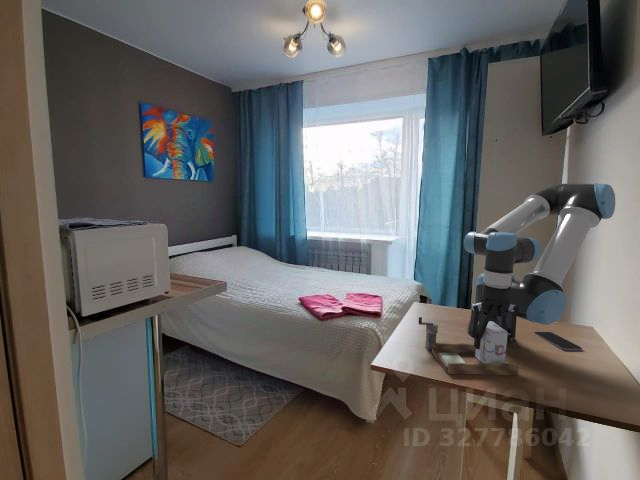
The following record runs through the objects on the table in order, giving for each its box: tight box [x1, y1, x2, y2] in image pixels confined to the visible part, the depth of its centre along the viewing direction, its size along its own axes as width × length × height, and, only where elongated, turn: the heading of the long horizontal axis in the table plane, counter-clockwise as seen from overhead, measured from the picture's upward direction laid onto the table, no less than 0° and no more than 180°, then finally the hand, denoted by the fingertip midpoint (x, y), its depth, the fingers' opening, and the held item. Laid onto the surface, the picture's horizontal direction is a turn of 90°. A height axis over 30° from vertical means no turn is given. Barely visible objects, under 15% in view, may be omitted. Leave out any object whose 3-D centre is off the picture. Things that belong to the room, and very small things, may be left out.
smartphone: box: [533, 331, 583, 352], centre depth 121 cm, size 7×1×15 cm
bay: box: [417, 316, 520, 376], centre depth 104 cm, size 24×17×11 cm
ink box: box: [474, 321, 508, 364], centre depth 103 cm, size 9×5×12 cm, turn 5°
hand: (489, 358), depth 103 cm, fingers open, 6 cm apart
